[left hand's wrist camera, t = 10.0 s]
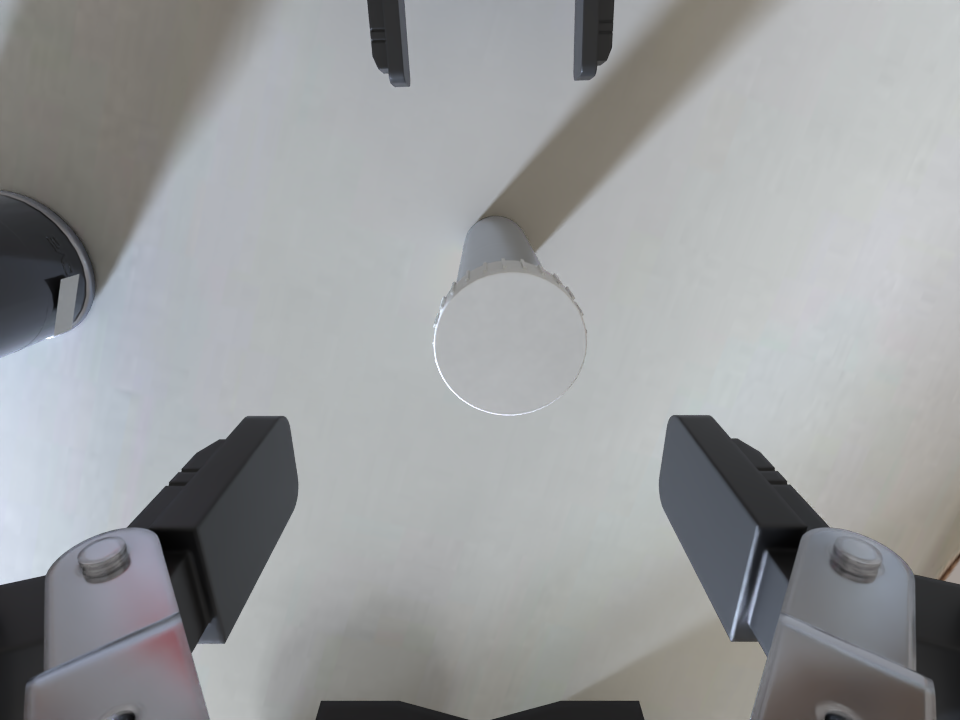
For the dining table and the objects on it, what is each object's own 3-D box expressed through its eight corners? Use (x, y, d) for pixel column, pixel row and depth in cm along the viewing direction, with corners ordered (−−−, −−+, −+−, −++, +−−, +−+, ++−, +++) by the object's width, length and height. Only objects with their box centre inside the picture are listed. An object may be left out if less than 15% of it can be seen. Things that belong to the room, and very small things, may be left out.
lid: (412, 357, 18) (405, 377, 17) (477, 230, 17) (476, 238, 15) (533, 415, 19) (539, 441, 17) (607, 300, 18) (620, 314, 16)
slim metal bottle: (452, 262, 34) (424, 367, 17) (482, 204, 32) (483, 256, 16) (508, 291, 34) (533, 419, 18) (539, 235, 33) (597, 316, 16)
